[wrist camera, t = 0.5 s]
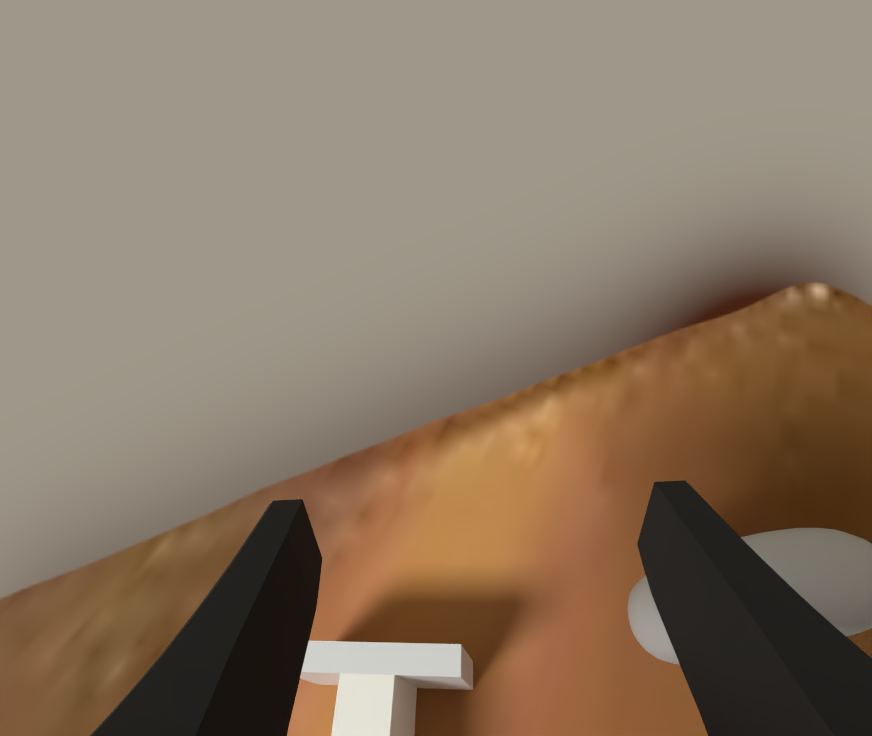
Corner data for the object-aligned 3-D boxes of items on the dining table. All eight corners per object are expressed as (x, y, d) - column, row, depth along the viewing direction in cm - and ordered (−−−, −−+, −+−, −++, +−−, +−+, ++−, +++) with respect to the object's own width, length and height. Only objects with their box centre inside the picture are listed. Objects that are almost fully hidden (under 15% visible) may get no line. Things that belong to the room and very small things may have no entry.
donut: (628, 683, 24) (672, 646, 16) (604, 605, 26) (632, 539, 18) (844, 649, 23) (1000, 593, 15) (801, 572, 25) (918, 489, 17)
